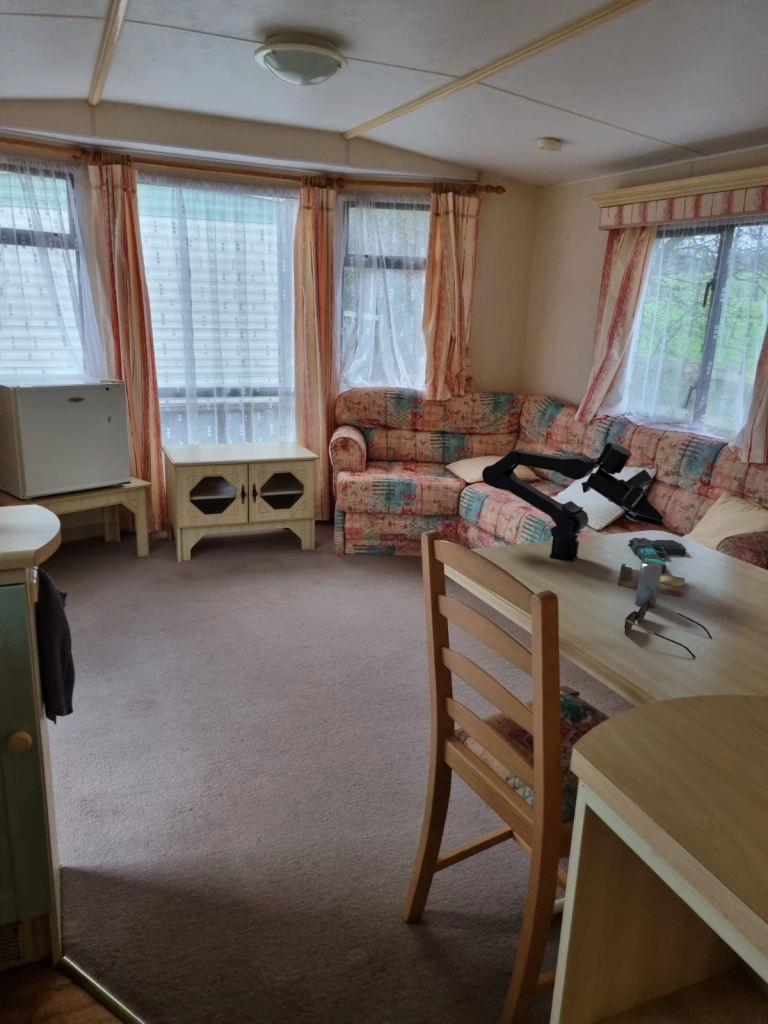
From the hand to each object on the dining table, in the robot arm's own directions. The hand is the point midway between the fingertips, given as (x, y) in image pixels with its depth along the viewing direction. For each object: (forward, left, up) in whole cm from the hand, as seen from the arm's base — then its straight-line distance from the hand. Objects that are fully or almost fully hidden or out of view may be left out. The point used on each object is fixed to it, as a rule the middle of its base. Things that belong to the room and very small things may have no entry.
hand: (662, 522), depth 180 cm
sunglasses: (+6, -36, -16) cm, 40 cm away
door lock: (0, -5, -15) cm, 16 cm away
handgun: (+1, +18, -16) cm, 24 cm away
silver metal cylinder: (0, -20, -15) cm, 25 cm away
